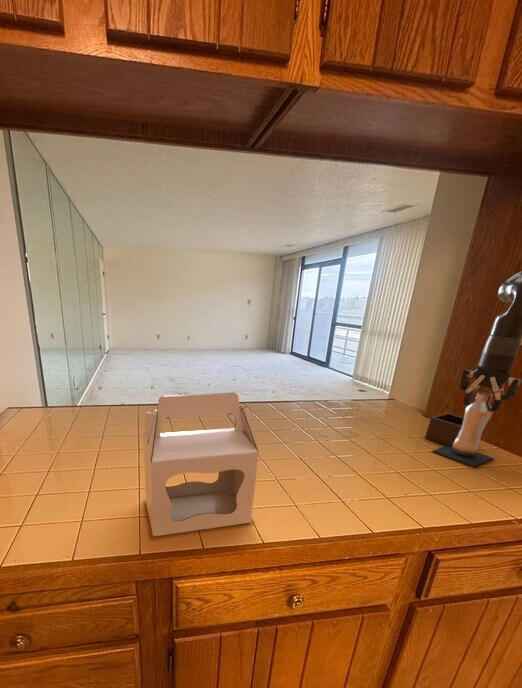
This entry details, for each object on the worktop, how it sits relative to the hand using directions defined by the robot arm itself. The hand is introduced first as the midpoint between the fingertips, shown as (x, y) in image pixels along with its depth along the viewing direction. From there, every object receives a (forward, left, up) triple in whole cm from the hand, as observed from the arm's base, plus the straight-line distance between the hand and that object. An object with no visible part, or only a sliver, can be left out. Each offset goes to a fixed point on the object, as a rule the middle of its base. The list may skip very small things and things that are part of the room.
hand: (479, 407), depth 104 cm
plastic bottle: (0, 0, -16) cm, 16 cm away
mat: (0, 0, -16) cm, 16 cm away
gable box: (+91, -14, -16) cm, 93 cm away
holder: (-9, -9, -16) cm, 21 cm away
